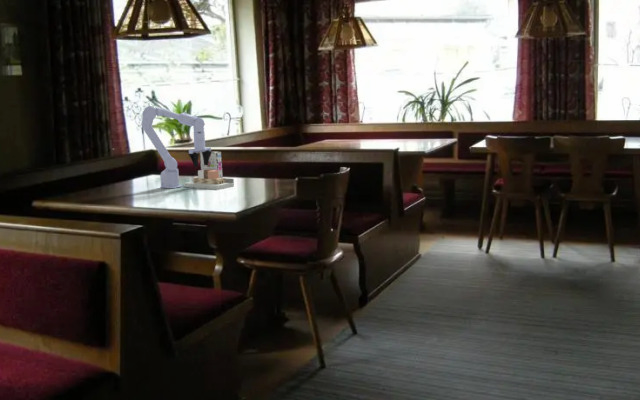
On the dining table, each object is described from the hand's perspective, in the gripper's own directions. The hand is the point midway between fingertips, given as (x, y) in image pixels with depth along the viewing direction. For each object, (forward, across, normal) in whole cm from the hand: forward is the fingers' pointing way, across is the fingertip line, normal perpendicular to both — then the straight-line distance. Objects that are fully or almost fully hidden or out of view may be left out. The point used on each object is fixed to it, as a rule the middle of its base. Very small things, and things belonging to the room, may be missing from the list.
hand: (201, 165), depth 366 cm
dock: (+10, -2, -7) cm, 13 cm away
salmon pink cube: (+6, -2, -10) cm, 12 cm away
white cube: (+6, -2, -4) cm, 7 cm away
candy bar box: (+11, +14, +6) cm, 19 cm away
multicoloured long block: (+8, -2, -7) cm, 11 cm away
